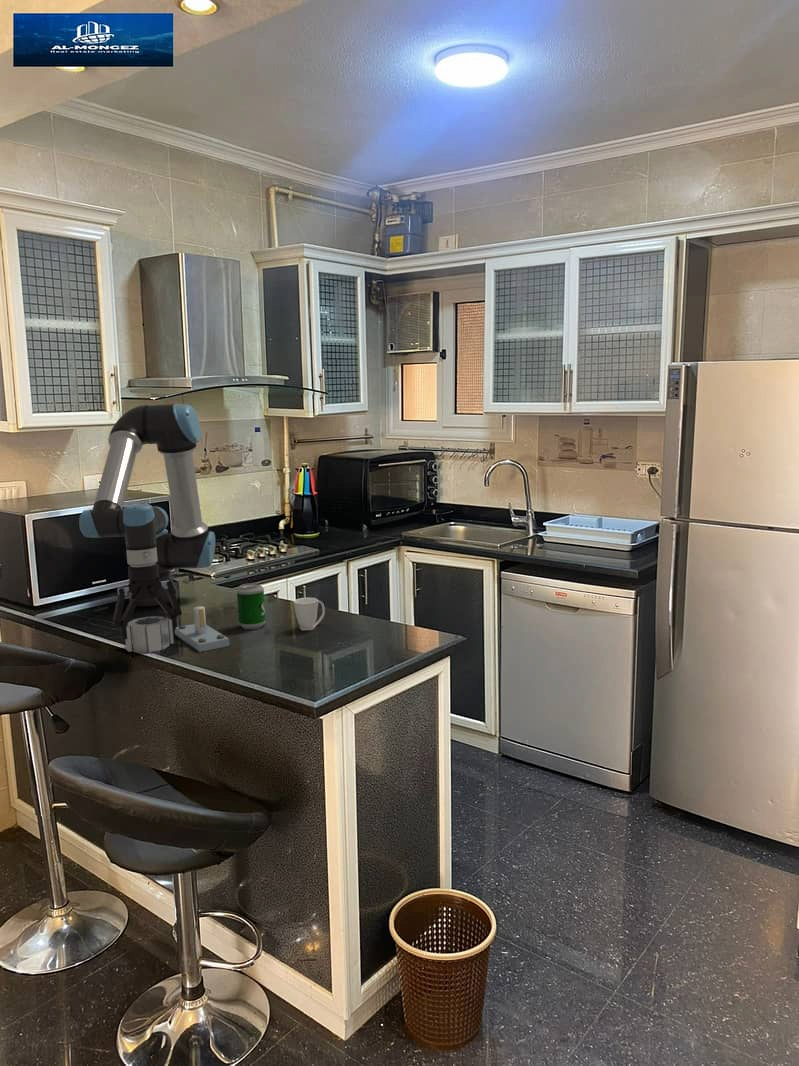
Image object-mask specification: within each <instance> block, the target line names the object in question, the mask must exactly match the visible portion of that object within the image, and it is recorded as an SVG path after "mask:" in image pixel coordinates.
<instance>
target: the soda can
mask: <svg viewBox="0 0 799 1066" xmlns="http://www.w3.org/2000/svg"><path fill="white" fill-rule="evenodd" d="M264 592H265V590H264V587H263V586H262V585H261V584H260V583H256V582H249V583H243V584H241V585H239V587H237V589H236V597H237V598H236V599H237V609H238V610H237V613H238V614H237V616H238V624H239V626H240V627H242V629H244V630H257V629H260V628H263V627H264V625H265V624H266V623H267V621H266V620H267V619H266V606H265V605H266V604H265V603H266V602H265V593H264ZM262 626H263V627H262Z"/></svg>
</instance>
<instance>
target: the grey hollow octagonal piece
mask: <svg viewBox="0 0 799 1066" xmlns="http://www.w3.org/2000/svg"><path fill="white" fill-rule="evenodd" d="M166 618H167V617H164V616H155V615H153V616H145V617H139V618H136V619H135V618H134V619H132V620H129V622H128V624H127V625H128V626H129V627H130V636H131V646H132V651H131V652H133V653H143V654H146V653H154V652H159V651H162V650H165V649H166V648H168V647H170V644H171V643H170V642H169V630H168V619H166Z"/></svg>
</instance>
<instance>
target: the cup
mask: <svg viewBox="0 0 799 1066" xmlns="http://www.w3.org/2000/svg"><path fill="white" fill-rule="evenodd" d="M292 602H293V606H294V607H293V608H294V611H295V616H296V619H297V623H298V625H299V628H300V629H301V631H305V630H306V631H307V630H308V631H313V630H315V629H316V627H317V626H318V625H319V624H320V623H321V621H322V620H323V619H324V617H325V614H326V608H325V605H324V604H325V603H324V602H323V601H321V600H319V599H317V598H316V597H301V598H297V599H295V600H292ZM319 604H320V605H321V608H322V609H321V611H322V614H321V616H320V617H319V618H318V609H319ZM317 618H318V620H317ZM314 628H315V629H314ZM300 629H299V630H300Z"/></svg>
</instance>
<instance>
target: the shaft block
mask: <svg viewBox="0 0 799 1066" xmlns="http://www.w3.org/2000/svg"><path fill="white" fill-rule="evenodd" d="M205 608H206V607H205V606H195V607H193V608H192V610H193V622H194V623H192V624H187V625H186V624H182V625H178V626H176V629H175V630H174V635H175V636H177V637H178V638H179V639H181V640H182V641H184V642H185V643H187V644H188V645H189V646H191V647H192V648H193V649H195V650H196V651H197V652H199V653H202V651H203V652H207V651H212V650H217V649H221V648H226V647H230V639H229V638H228V636H226V635H224V634H222V633H221V632H219V631H217V630H215V629H214V628H213V627H210V626H209V625H208V624H207V619H206V609H205Z"/></svg>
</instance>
